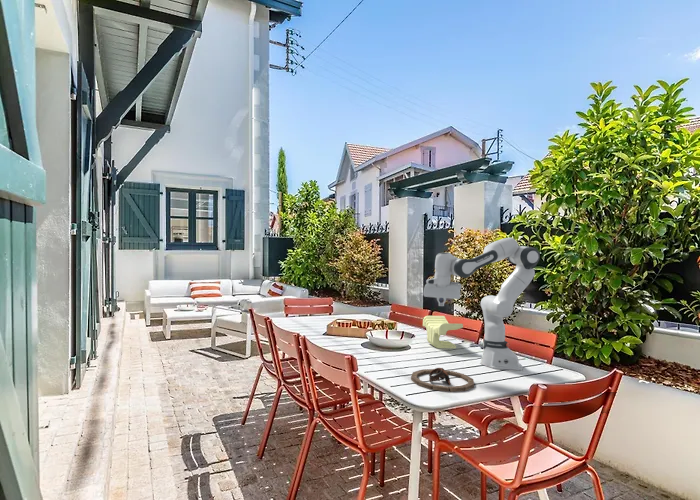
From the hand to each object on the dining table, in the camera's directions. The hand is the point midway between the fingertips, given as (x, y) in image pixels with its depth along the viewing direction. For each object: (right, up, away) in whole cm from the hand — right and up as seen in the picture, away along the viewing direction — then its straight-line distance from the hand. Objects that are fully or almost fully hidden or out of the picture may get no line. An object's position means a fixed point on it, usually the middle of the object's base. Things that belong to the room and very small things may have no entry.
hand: (441, 305), depth 232 cm
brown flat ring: (-6, -33, -29) cm, 44 cm away
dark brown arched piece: (-7, -33, -31) cm, 46 cm away
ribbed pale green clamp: (+11, -34, +49) cm, 60 cm away
